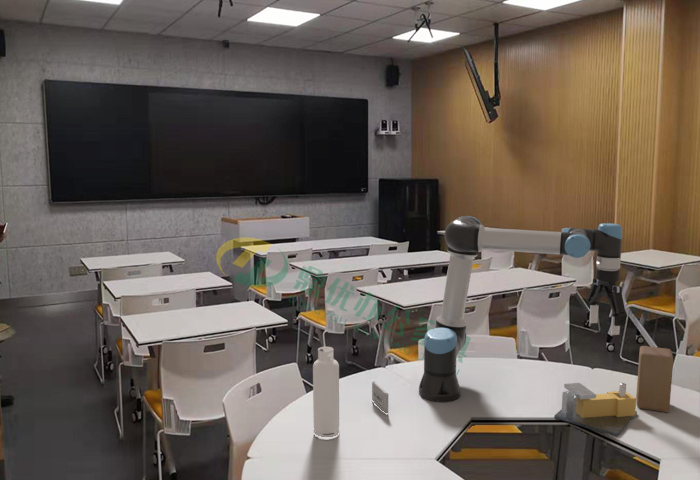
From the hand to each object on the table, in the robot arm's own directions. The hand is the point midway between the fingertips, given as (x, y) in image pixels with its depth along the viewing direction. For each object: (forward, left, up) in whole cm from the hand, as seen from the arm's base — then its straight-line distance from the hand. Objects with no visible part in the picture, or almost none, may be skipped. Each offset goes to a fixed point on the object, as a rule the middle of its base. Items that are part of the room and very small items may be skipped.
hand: (603, 328), depth 204 cm
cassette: (-56, -54, -28) cm, 83 cm away
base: (+3, -12, -27) cm, 30 cm away
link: (+5, -10, -26) cm, 28 cm away
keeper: (-2, -18, -27) cm, 33 cm away
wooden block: (+15, +10, -27) cm, 33 cm away
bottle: (-57, -80, -27) cm, 102 cm away
